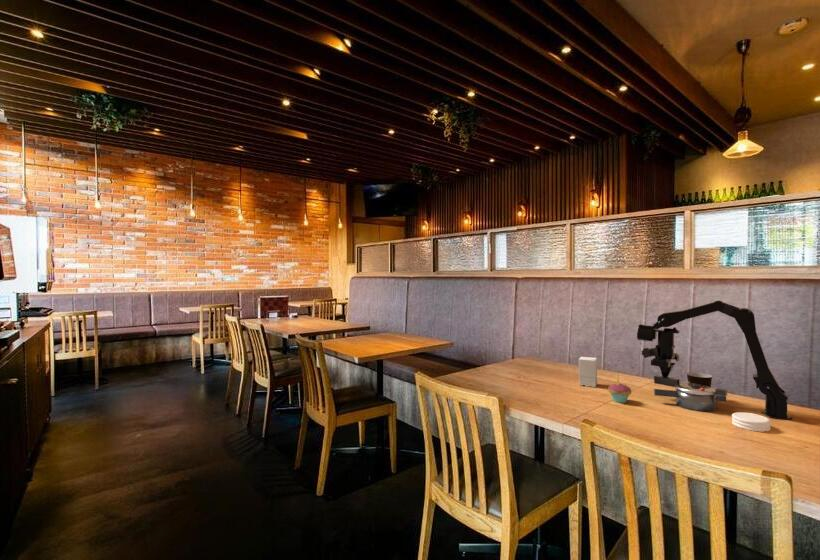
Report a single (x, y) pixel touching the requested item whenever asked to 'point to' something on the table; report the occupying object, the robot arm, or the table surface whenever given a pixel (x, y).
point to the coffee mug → (699, 378)
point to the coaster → (751, 421)
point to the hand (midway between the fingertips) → (664, 379)
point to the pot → (692, 400)
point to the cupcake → (619, 392)
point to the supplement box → (588, 371)
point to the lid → (689, 386)
